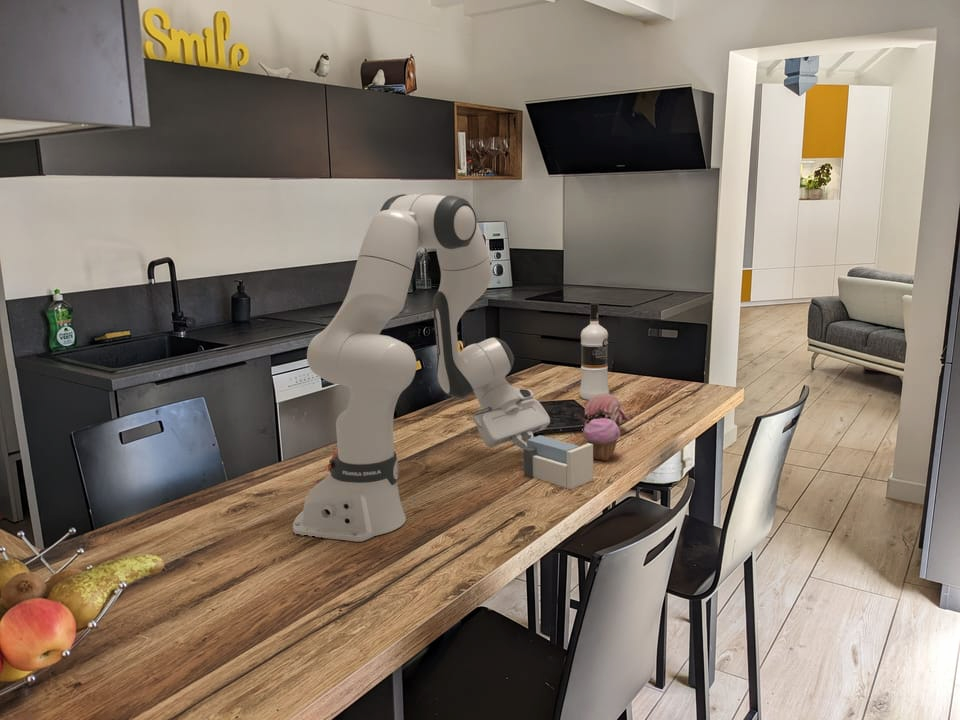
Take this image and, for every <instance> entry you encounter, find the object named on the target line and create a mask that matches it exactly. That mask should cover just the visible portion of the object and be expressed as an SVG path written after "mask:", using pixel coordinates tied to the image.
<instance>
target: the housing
mask: <svg viewBox="0 0 960 720" xmlns="http://www.w3.org/2000/svg"><path fill="white" fill-rule="evenodd" d="M579 446H580V445H579ZM523 473H524V474H523V477H527V478H530V479H531V478H535V479H538V480H540V481H545V482H547V483H550V484H553V485H556V486H558V487H559V486H560V487H562V488H566V489H569V490H573V489H575V488H578V487H580V486H582V485H585V484H588V483H589V482H591V481H594V459H593V444H590V443H588V442H587V443H585V444H583V445H581V446H580V447H577V448H575V449H572V450H570V451H567V464H564V463H561V462H557V461H554V460H551V459H547V458H544V457H540V456H537V455H536V449H534V448H531V447H529V448H526V449H524V452H523Z"/></svg>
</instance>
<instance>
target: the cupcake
mask: <svg viewBox="0 0 960 720" xmlns="http://www.w3.org/2000/svg"><path fill="white" fill-rule="evenodd" d="M582 433H583V437H584V439H585V440H587V444H588V443H590V444H593V460H598V461H599V460H600V461H604V462H606V461H608V460H609V459H610V457H612V456H613V454H614V451H615V450H616V446H617V442H618V440H619V439H620V438H621V431H620V428H619V425H618V426H617V424H616V423H615V422H614V421H613V420H611V419H606V418H600V419H593V420H591V421H590V422H589V423H588V424H586V425H585V424H584V427H583V431H582Z"/></svg>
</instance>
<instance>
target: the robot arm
mask: <svg viewBox="0 0 960 720" xmlns="http://www.w3.org/2000/svg"><path fill="white" fill-rule="evenodd" d="M379 210H380V211H379V212H378V213H376V214H375V216H374V217H373V218H372V221H371V222H370V224H369V226H368V229H367V231H366V234H365V236H364V238H363V240H362V244H361V246H360V250H359V253H358V257H357V259H356V260H357V261H356V263H355V267H354V270H353V275H352V277H351V282H350V285H349V287H348V290H347V294H346V296H345V298H344V299H343V302H342V304H341V306H340V307H339V309H338V311H337V312H336V314H335V315H334V317H333V318H332V320H331V321H330V322H329V324H328V325H327V326H326V327H325V328H324V329H322V331H320V332H319V333H317V334H316V335H315V336H314V337H312V339H311V341H310V342H309V344H308V346H307V351H306V360H307V361H306V362H307V364H308V365H307V366H308V367H309V369H310V370H311V372H313V373H314V374H315V375H316V376H318V378H321V379H323V380H325V381H326V382H328V383H331V384H334V385H339V386H344V387H348V388H349V393H350V394H349V400H348V405H347V408H346V409H345V410H343V411H342V412H341V413H340V414H338V416H337V419H336V422H335V428H336V429H335V430H336V442H337V443H336V444H337V450H335V452H334V453H333V454H332V456H331V458H330V459H329V463H328V464H327V467H326V468H327V472H329V473H330V474H328V475H327V476H326V477H325V478H323V479H322V480H321V481H320V482H319V483H318V484H316V485H314V487H313V488H312V489H311V490H310V491H309V492H308V494H307V495H306V498H305V501H304V505H303V510H302V511H301V512H299V514H298V515H296V517H295V519H294V520H293V523H292V533H293V534H294V533H295V534H294V535H296V534H300V535H299V536H304V535H308V536H307V537H312V536H315V537H314V538H321V537H322V538H323V539H331V540H341V541H349V542H356V543H357V542H359V543H360V542H364V541H367V540H369V539H372V538H374V537H375V536H376V537H377V536H381V535H384V534H387V533H390V532H393V531H395V530H398V529H399V528H400V527H402V526H403V525H404V524H405V522H406V520H407V515H406V513H405V511H404V508H403V505H402V500H401V496H400V491H399V486H398V478H399V466H398V465H399V463H398V460H397V459H398V458H397V453H396V451H395V446H394V444H395V443H394V415H395V414H394V413H395V410H396V405H397V403H398V400H399V397H400V395H401V394H402V393H403V391H405V390H406V389H407V388H408V387H409V386H410V385H411V383H412V382H413V380H414V378H415V375H416V372H417V358H416V354H415V353H414V350H413V348H411V347H410V345H408V344H407V343H406V342H404V341H403V342H402V341H401V340H399V339H397V338H394V337H392V336H389V335H384V334H381V332H382V330H383V329H384V327H385V326H386V325H387V324H388V322H389V321H390V320H392V319H393V318H395V317H396V316H398V315H399V314H400V313H401V311H403V309H404V307H405V303H406V300H407V295H408V293H409V292H408V291H409V290H410V289H409V288H410V285H411V281H412V276H413V272H414V269H415V264H416V259H417V255H418V249H419V248H421V249H427V250H428V249H430V250H432V249H433V250H435V249H436V255H437V260H438V265H439V270H440V283H439V287H438V290H437V292H436V294H434V296H433V303H432V305H433V306H432V307H433V312H432V313H433V323H434V325H433V326H434V333H435V343H436V357H437V360H436V361H437V362H436V374H437V375H436V377H437V382H438V385H439V386H440V388H441V390H442V391H443V393H445V394H446V395H448V396H450V397H453V398H456V399H464V398H466V397H467V396H469V395H470V394H472V393H474V395H475V396H476V398H477V401H478V403H479V405H480V407H481V409H480V410H479V409H478V410H476V411H475V412H474V413H473V415H472V420H473V422H474V424H475V425H476V428H477V431H478V433H479V435H480V437H481V439H482V440H483V442H484V444H485V446H487V447H489V448H494V447H496V446H500V445H502V444H505V443H507V442H511V441H512V443H513V445H515V446H517V447H518V448H520V449H521V451H522V452H523V453H524V449H526V448H527V440H528V439H531V438H534V437H535V436H534V433H537V432H538V433H539V431H543V430H545V429H547V427H548V426H549V425H550V423H551V418H550V416H549V414H548V413H547V411H546V409H545V408H544V406H543V405H542V403H541V402H540V401H539V400H538V399H535V398H534V396H535V393H534V392H533V391H532V390H531V389H528V388H519V387H514V386H512V385H511V384H510V382H508V380H506V376H507V375H508V374H509V373H511V370H512V369H513V366H514V361H515V356H514V354H513V351H512V350H511V348H510V347H509V345H508V344H507V343H506V341H504V340H502V339H500V338H498V337H494V336H493V337H490V338H486V339H484V340H483V341H480V342H478V343H472V344H469V345H467V346H466V347H464V348H463V349H462V350H461V351H459V342H458V340H459V338H458V331H457V330H458V323H459V321H460V319H461V317H462V316H463V315H464V313H465V312H466V311H467V310H468V309H469V307H471V306H472V305H473V304H474V303H475V302H476V301H478V299H479V298H481V297H482V296H483V294H484V293H485V292H486V291H487V288H488V287H489V286H490V284H491V280H492V265H491V261H490V260H491V259H490V256H489V252H488V248H487V245H486V241H485V238H484V236H483V232H482V231H481V227H480V226H479V223H478V221H477V215H476V212H475V210H474V207H473V206H472V205H471V203H470V202H469V201H468V200H467V199H464V198H462V197H460V196H457V195H447V196H446V195H439V194H432V193H414V194H406V193H405V194H404V193H403V194H402V193H401V194H397V195H393V196H392V197H390V198H388V199H386V200H385V202H384V203H383V205H382V206H381V209H379ZM509 375H510V374H509ZM522 438H523V439H522Z"/></svg>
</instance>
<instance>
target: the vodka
mask: <svg viewBox="0 0 960 720" xmlns="http://www.w3.org/2000/svg"><path fill="white" fill-rule="evenodd" d="M599 305H600V304H599V303H597V302H591V303H590V304H589V315H590V316H589V324H588V325H587V326H585V327H584V328H583V329H582V330H581V332H580V345H581V366H580V369H581V371H580V372H581V373H580V374H581V378H580V388H579V396H580V398H582V400H586V401H589V400H590V399H591V398H592V397H594V396H595V395H598V394H604V393H608V394H610V389H609V381H608V379H609V378H608V369H609V368H608V367H609V366H608V344H609V342H608V337H609V333H608V330H607V329H606V328H604V327H603V326H602V325H600V323H599Z"/></svg>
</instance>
